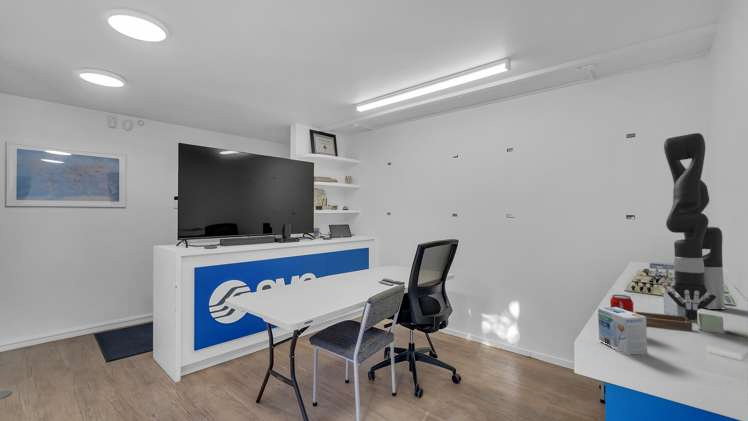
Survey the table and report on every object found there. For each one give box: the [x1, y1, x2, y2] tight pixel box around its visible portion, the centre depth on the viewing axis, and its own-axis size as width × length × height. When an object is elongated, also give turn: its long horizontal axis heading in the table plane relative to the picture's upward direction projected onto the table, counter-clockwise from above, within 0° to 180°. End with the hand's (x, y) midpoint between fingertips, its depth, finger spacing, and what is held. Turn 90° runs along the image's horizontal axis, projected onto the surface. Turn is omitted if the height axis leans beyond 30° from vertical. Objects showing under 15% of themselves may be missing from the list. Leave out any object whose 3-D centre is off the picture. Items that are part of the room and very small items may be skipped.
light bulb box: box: [597, 306, 648, 356], centre depth 98 cm, size 11×7×11 cm, turn 5°
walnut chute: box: [634, 311, 693, 331], centre depth 117 cm, size 8×14×2 cm, turn 59°
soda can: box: [609, 294, 635, 313], centre depth 111 cm, size 6×6×12 cm
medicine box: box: [662, 291, 691, 321], centre depth 125 cm, size 8×4×9 cm, turn 168°
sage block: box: [696, 311, 725, 334], centre depth 110 cm, size 5×5×5 cm
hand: (691, 319), depth 113 cm, fingers closed
